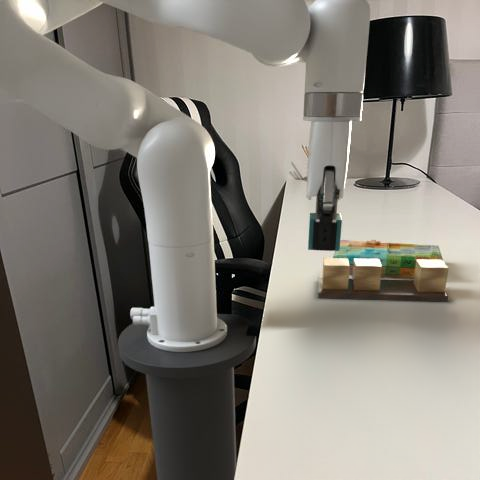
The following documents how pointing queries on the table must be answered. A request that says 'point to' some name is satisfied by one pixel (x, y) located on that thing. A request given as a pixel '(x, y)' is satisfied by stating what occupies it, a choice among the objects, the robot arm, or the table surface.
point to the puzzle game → (388, 255)
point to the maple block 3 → (430, 275)
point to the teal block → (311, 225)
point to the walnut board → (384, 292)
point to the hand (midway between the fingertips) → (323, 243)
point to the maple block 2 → (366, 274)
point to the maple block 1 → (335, 273)
